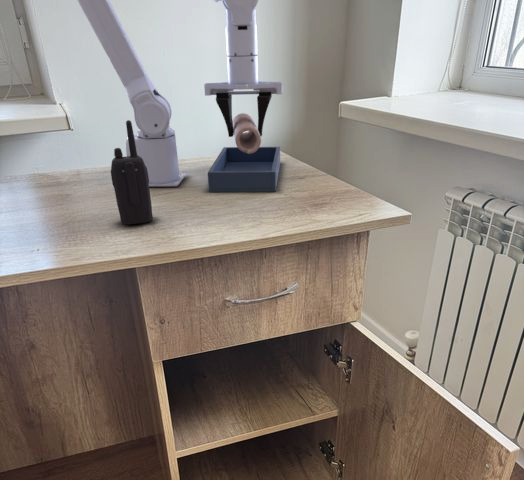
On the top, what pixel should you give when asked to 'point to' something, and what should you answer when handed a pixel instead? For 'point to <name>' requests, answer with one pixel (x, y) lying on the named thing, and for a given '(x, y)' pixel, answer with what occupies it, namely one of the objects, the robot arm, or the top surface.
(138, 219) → the two-way radio
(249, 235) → the top surface
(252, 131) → the pink hollow tube
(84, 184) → the top surface
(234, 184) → the holder
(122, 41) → the robot arm
